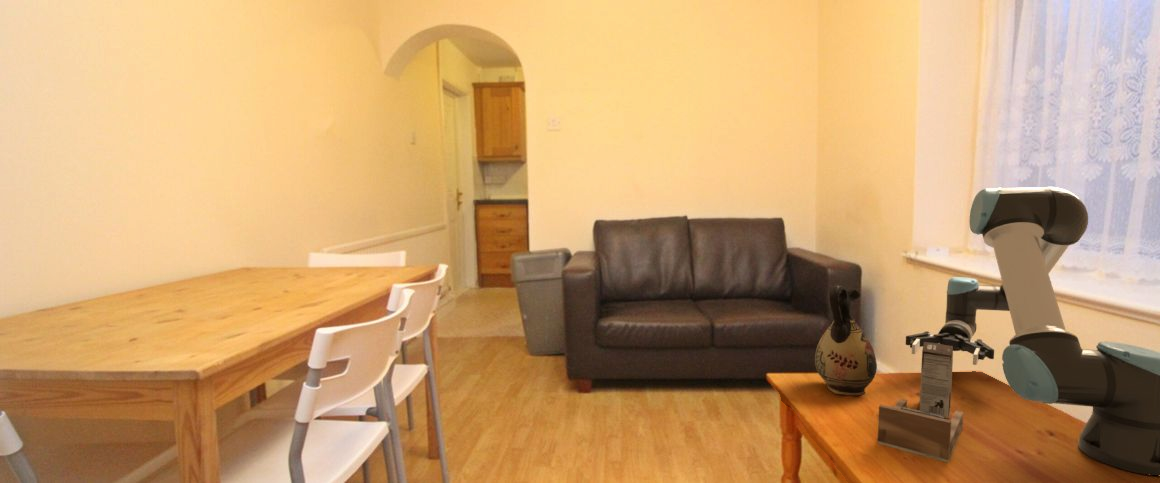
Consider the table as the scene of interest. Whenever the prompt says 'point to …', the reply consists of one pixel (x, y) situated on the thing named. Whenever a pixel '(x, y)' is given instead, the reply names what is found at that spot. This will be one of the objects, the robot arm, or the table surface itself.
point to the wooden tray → (918, 431)
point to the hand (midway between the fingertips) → (943, 354)
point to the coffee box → (936, 379)
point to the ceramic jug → (845, 349)
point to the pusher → (923, 412)
